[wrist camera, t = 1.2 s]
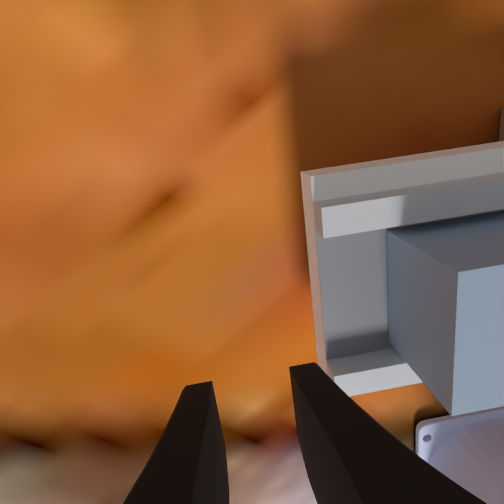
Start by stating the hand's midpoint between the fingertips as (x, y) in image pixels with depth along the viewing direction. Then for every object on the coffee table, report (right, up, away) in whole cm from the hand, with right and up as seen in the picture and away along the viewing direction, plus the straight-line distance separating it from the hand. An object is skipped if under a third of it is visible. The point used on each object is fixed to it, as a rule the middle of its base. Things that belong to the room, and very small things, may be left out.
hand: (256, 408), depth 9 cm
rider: (+7, +3, +5) cm, 9 cm away
